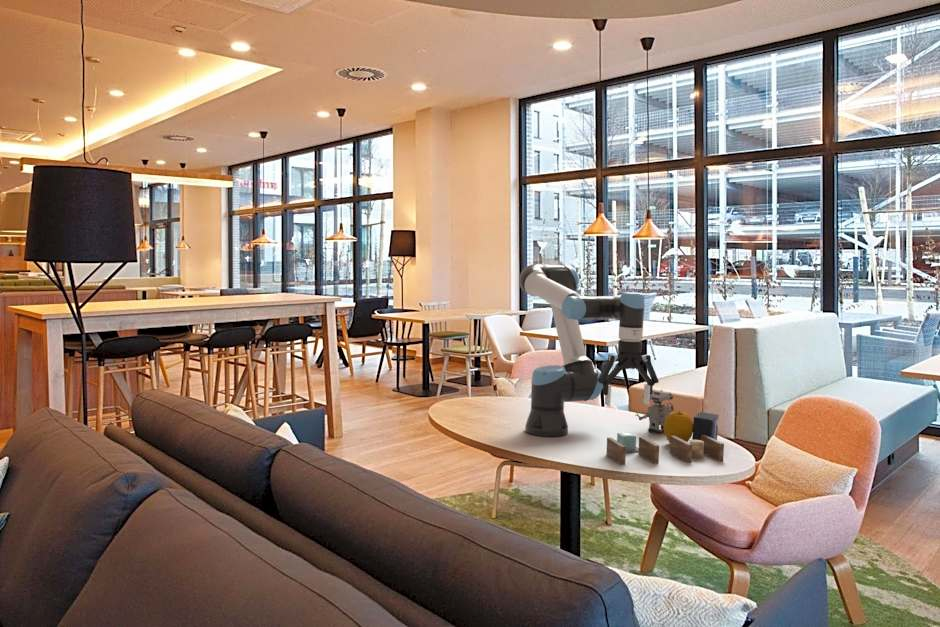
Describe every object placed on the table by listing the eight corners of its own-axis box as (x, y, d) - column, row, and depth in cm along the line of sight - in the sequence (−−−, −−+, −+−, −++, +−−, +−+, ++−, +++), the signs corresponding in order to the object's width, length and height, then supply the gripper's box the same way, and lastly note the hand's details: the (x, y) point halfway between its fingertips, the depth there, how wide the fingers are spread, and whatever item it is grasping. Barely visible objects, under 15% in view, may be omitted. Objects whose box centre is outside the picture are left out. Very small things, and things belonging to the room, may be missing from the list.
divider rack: (620, 464, 207) (621, 446, 206) (606, 454, 217) (607, 437, 217) (723, 460, 214) (724, 443, 213) (704, 451, 224) (705, 434, 224)
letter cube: (616, 446, 226) (617, 432, 226) (629, 445, 227) (630, 432, 227) (622, 449, 222) (623, 435, 221) (635, 449, 223) (636, 435, 222)
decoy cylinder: (693, 459, 215) (694, 443, 215) (686, 455, 219) (686, 439, 219) (705, 458, 216) (706, 442, 216) (698, 454, 220) (699, 439, 220)
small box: (711, 451, 225) (712, 419, 224) (691, 447, 229) (692, 416, 228) (718, 444, 234) (719, 413, 234) (698, 441, 238) (699, 411, 237)
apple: (675, 449, 225) (676, 414, 224) (656, 442, 234) (657, 408, 233) (698, 447, 229) (700, 412, 228) (679, 440, 238) (680, 406, 237)
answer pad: (619, 452, 220) (619, 451, 220) (609, 446, 228) (609, 444, 228) (642, 452, 221) (642, 450, 221) (631, 445, 229) (631, 444, 229)
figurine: (649, 425, 259) (651, 386, 258) (675, 432, 250) (677, 391, 249) (634, 429, 253) (636, 388, 252) (661, 435, 244) (663, 393, 243)
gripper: (598, 341, 216) (595, 407, 218) (671, 341, 221) (667, 406, 223) (589, 338, 223) (586, 402, 225) (660, 338, 228) (656, 401, 230)
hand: (626, 404), depth 224 cm, fingers open, 13 cm apart
